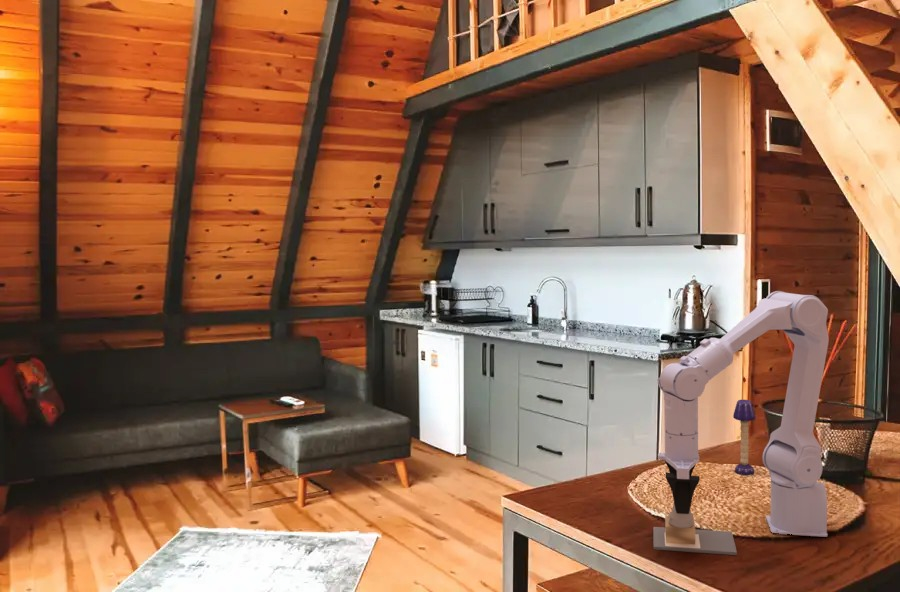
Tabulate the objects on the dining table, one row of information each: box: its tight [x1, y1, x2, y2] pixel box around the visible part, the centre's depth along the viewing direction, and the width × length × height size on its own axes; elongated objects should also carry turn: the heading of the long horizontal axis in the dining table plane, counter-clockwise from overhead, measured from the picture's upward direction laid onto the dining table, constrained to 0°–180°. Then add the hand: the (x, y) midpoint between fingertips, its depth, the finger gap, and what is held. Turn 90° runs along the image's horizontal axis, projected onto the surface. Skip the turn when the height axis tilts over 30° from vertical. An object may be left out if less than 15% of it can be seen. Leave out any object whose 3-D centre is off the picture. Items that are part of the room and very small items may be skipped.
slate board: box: [652, 526, 738, 556], centre depth 141 cm, size 14×9×1 cm, turn 75°
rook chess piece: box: [668, 503, 695, 528], centre depth 140 cm, size 4×4×8 cm
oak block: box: [664, 515, 696, 544], centre depth 141 cm, size 5×5×3 cm
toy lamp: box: [732, 399, 756, 476], centre depth 176 cm, size 5×5×17 cm
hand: (681, 505), depth 140 cm, fingers open, 7 cm apart
